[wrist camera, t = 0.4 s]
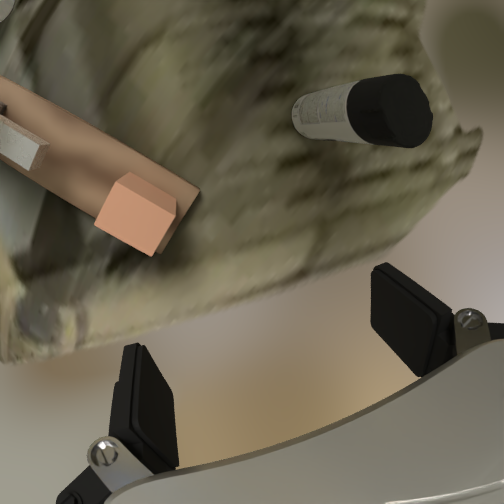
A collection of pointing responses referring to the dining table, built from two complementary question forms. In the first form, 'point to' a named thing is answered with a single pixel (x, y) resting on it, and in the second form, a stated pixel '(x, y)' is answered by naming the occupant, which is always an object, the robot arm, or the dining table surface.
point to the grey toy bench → (2, 107)
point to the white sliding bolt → (21, 145)
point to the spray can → (367, 112)
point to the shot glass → (5, 8)
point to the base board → (85, 157)
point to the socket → (137, 213)
